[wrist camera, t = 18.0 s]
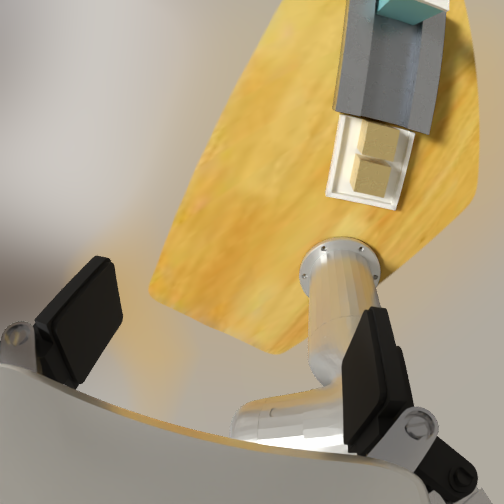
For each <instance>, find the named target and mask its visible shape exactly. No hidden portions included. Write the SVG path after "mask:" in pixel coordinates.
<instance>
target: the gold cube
mask: <svg viewBox="0 0 504 504" xmlns="http://www.w3.org/2000/svg"><path fill="white" fill-rule="evenodd" d="M399 133H400V130H399V129H397V128H395V127H393V126H390V125H386V124H382V123H378V122H374V121H370V120H366V119H362V123H361V129H360V134H359V139H358V145H357V149H358V150H359V151H360V153H361V154H362V155H366V156H371V157H375V158H379V159H383V160H387V161H391V162H393V161H394V156H395V152H396V147H397V143H398V138H399Z"/></svg>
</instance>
